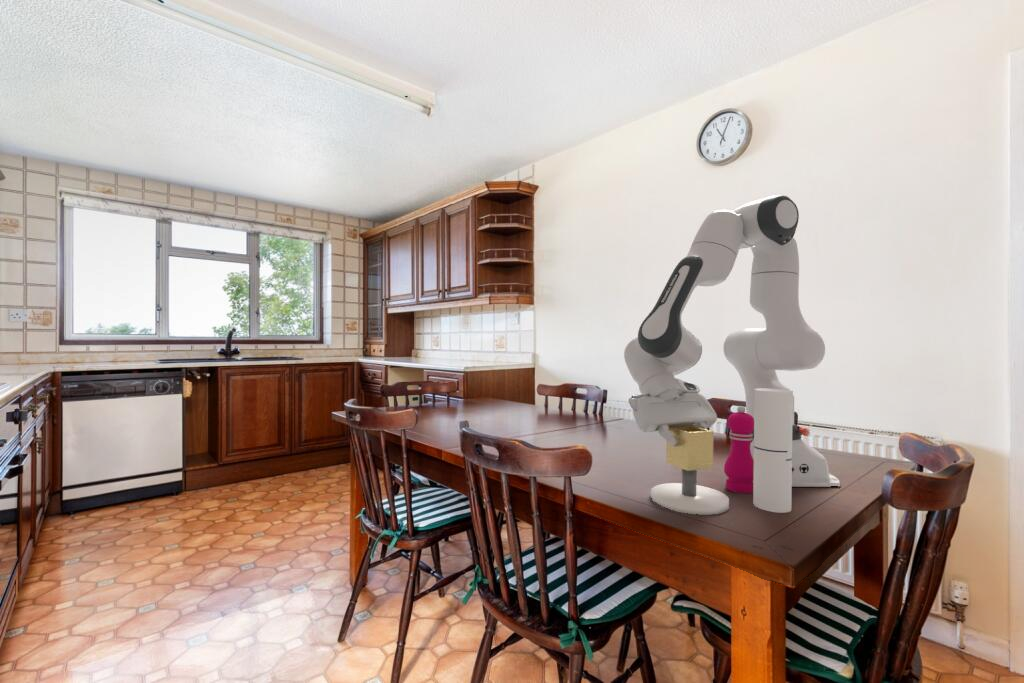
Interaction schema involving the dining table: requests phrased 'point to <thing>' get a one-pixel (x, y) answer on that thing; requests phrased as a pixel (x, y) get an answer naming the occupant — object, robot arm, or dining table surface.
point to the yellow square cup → (691, 448)
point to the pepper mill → (740, 453)
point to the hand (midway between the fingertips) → (691, 443)
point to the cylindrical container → (773, 449)
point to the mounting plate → (690, 496)
